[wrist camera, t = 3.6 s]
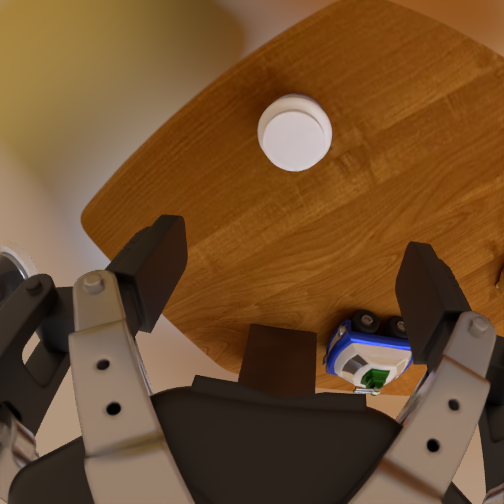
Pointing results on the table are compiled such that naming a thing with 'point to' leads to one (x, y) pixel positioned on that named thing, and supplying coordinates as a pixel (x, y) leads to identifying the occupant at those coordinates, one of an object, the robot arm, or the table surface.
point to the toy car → (368, 352)
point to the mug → (501, 282)
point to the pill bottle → (294, 132)
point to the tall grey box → (279, 361)
